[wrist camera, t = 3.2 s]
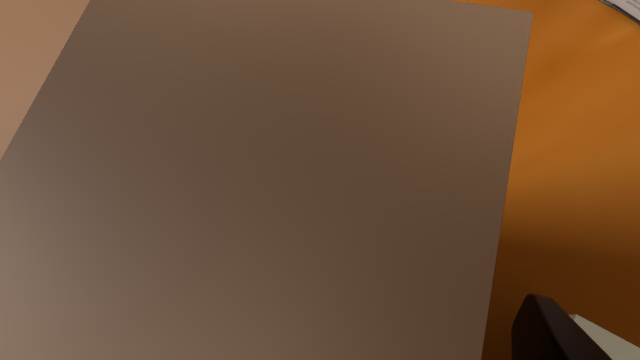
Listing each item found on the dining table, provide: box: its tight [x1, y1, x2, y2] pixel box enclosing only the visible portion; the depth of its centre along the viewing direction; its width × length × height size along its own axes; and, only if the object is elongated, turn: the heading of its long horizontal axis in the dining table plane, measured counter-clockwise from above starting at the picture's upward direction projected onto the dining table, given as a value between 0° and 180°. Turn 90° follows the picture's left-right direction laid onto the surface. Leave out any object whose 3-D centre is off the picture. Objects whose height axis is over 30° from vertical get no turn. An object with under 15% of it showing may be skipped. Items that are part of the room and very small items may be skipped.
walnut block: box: [0, 0, 533, 360], centre depth 10 cm, size 5×5×13 cm
